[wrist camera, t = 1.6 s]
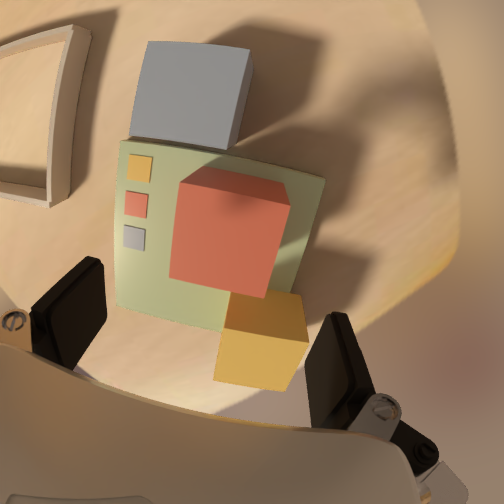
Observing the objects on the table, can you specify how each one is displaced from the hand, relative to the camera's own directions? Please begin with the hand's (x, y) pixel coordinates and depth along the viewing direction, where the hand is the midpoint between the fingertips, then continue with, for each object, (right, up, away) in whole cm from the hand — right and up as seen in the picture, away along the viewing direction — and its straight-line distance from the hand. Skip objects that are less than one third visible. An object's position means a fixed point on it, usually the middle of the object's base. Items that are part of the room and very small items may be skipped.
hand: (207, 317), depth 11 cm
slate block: (-2, +14, +8) cm, 16 cm away
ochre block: (+2, -3, +14) cm, 15 cm away
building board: (-2, +3, +13) cm, 14 cm away
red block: (0, +6, +10) cm, 12 cm away
